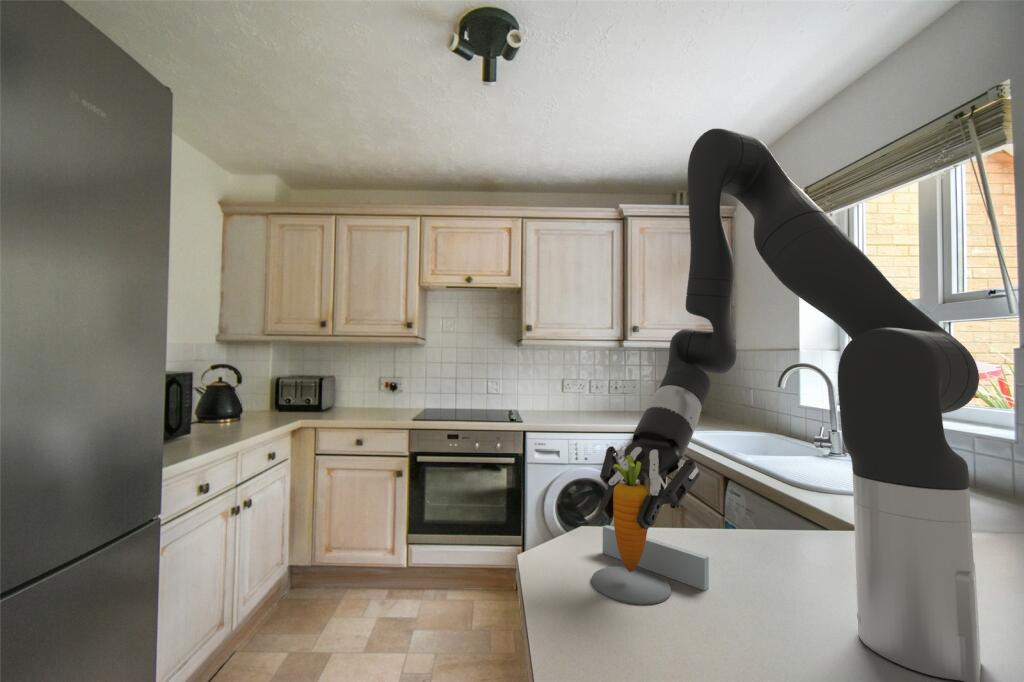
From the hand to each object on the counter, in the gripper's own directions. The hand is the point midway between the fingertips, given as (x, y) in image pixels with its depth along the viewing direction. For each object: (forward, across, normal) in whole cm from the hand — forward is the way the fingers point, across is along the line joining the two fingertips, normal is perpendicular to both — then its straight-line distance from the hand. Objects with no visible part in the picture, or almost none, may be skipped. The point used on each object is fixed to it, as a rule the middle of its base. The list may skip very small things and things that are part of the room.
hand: (623, 519), depth 58 cm
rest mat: (+5, 0, +7) cm, 9 cm away
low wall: (0, -1, +12) cm, 12 cm away
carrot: (+4, 0, +6) cm, 8 cm away
